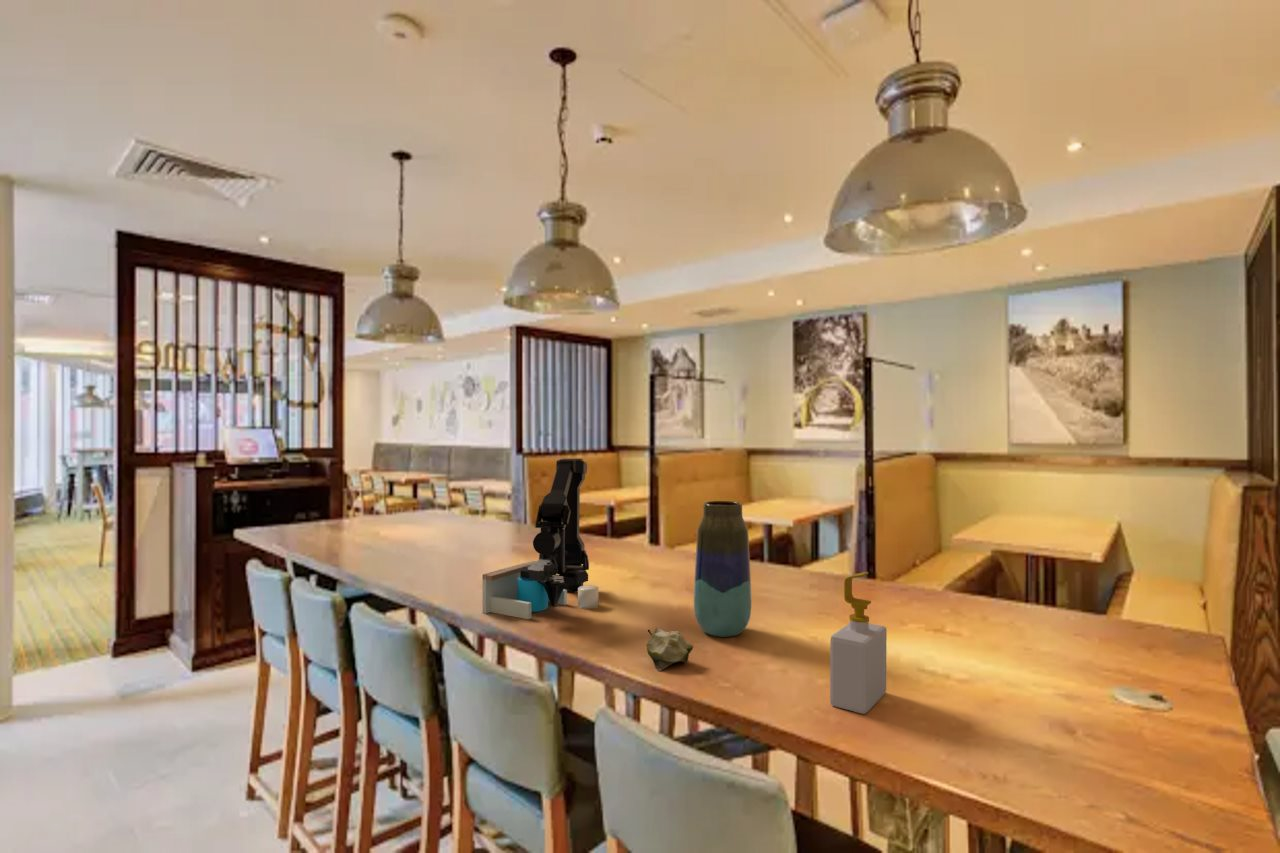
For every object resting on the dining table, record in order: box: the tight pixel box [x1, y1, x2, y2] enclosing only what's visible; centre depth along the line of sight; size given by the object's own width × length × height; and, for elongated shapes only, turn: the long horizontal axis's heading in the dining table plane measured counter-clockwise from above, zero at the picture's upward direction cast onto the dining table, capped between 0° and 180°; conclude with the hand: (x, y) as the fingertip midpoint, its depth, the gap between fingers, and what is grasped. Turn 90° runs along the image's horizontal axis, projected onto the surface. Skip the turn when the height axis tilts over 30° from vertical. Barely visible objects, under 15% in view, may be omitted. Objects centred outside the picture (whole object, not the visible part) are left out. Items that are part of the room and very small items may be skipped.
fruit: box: [646, 627, 694, 672], centre depth 139 cm, size 9×9×8 cm
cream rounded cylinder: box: [577, 584, 599, 610], centre depth 181 cm, size 6×6×5 cm
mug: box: [518, 577, 549, 613], centre depth 181 cm, size 12×8×8 cm
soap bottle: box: [829, 571, 888, 715], centre depth 120 cm, size 12×7×23 cm, turn 143°
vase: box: [693, 500, 752, 638], centre depth 159 cm, size 14×14×31 cm
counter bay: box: [482, 560, 568, 620], centre depth 179 cm, size 20×14×10 cm
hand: (553, 606), depth 175 cm, fingers closed
